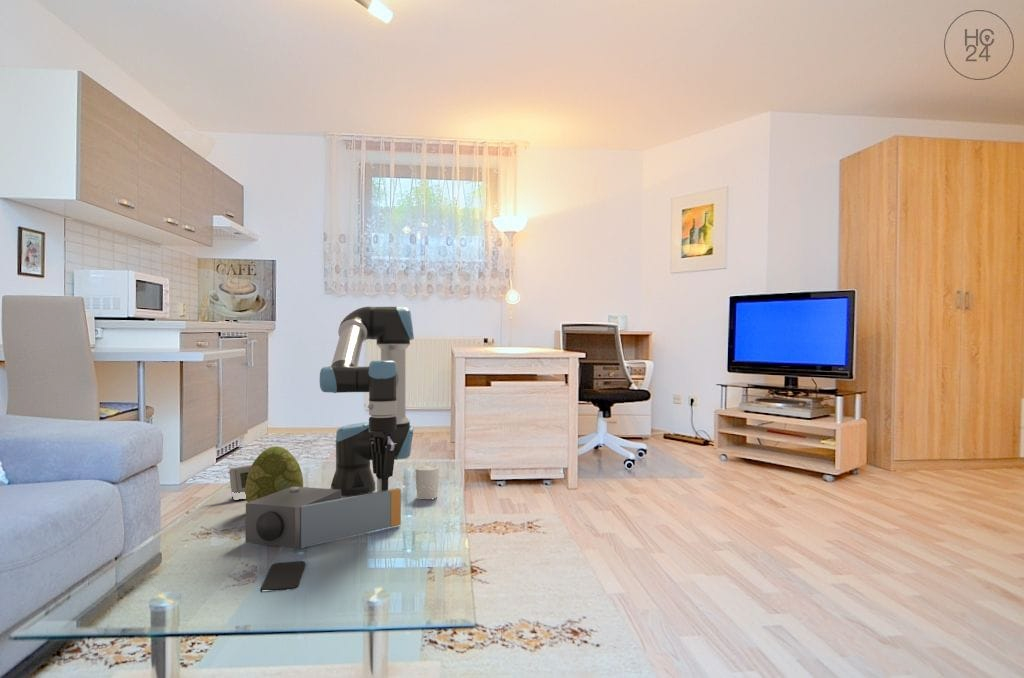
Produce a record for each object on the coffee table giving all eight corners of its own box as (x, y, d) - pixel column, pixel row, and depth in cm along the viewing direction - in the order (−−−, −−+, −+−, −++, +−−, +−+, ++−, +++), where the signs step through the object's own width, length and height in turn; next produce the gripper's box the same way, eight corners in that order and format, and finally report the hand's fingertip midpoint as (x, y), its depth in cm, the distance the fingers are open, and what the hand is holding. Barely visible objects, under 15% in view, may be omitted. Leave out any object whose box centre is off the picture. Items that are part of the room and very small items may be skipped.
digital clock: (230, 502, 187) (231, 469, 187) (227, 496, 194) (227, 465, 194) (283, 495, 195) (283, 464, 196) (278, 490, 203) (278, 460, 203)
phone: (259, 590, 117) (272, 563, 132) (259, 594, 117) (272, 566, 132) (297, 586, 119) (306, 560, 134) (297, 591, 119) (306, 564, 134)
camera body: (292, 521, 166) (292, 483, 166) (341, 525, 162) (341, 486, 162) (241, 544, 146) (241, 501, 146) (295, 550, 142) (295, 506, 142)
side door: (398, 524, 162) (398, 487, 162) (400, 525, 160) (400, 488, 161) (294, 548, 142) (294, 506, 142) (296, 550, 141) (296, 507, 141)
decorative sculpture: (269, 523, 164) (269, 453, 164) (233, 515, 172) (233, 448, 173) (314, 509, 178) (314, 444, 179) (279, 502, 186) (279, 440, 187)
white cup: (437, 500, 188) (437, 470, 188) (413, 500, 188) (413, 470, 188) (440, 494, 196) (440, 465, 196) (417, 494, 196) (417, 465, 196)
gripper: (360, 414, 163) (360, 498, 162) (380, 419, 152) (380, 508, 152) (385, 412, 167) (385, 494, 167) (405, 417, 157) (405, 503, 156)
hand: (382, 501), depth 159 cm, fingers closed
